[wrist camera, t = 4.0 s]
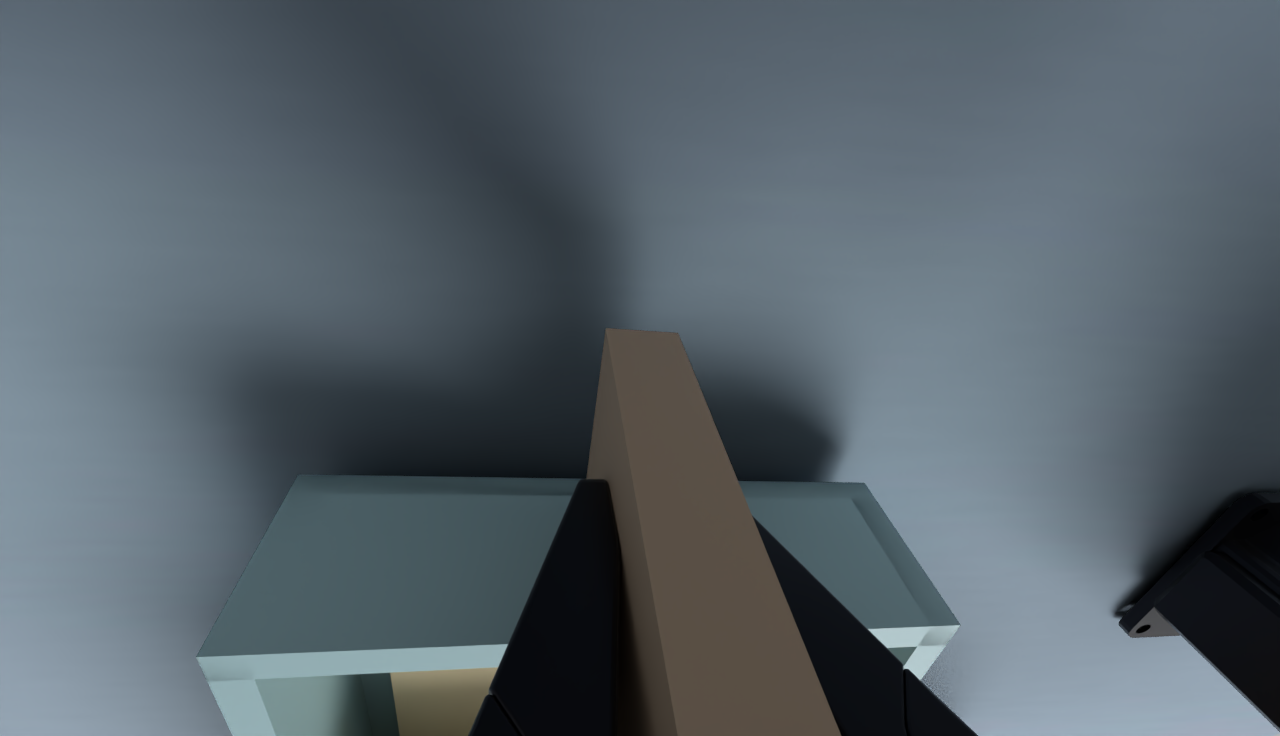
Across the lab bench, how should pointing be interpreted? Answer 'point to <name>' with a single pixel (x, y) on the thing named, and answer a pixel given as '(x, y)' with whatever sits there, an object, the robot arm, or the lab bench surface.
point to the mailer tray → (510, 562)
